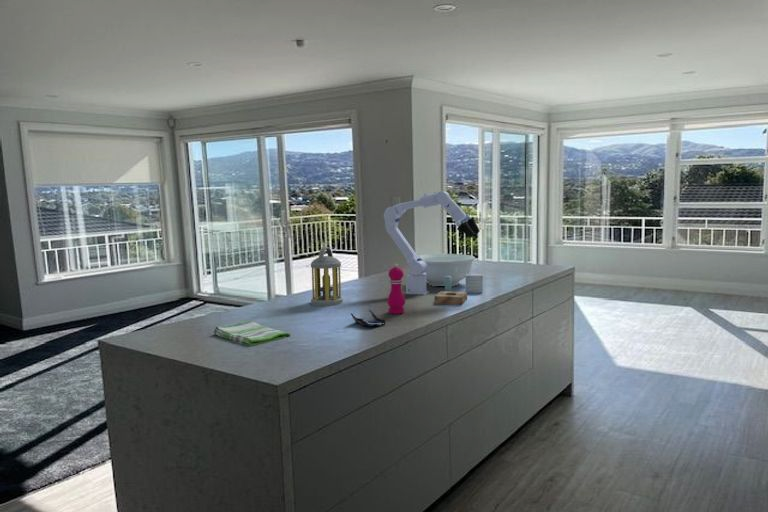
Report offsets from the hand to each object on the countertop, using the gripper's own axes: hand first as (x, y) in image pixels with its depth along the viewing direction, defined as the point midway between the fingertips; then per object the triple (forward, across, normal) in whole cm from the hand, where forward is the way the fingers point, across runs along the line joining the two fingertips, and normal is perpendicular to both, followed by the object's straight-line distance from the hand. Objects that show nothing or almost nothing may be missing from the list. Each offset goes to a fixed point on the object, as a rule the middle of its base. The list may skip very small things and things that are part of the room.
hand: (475, 234), depth 251 cm
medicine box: (+20, +5, +23) cm, 30 cm away
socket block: (+16, -20, +22) cm, 33 cm away
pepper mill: (+5, -48, +29) cm, 56 cm away
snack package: (+3, -70, +27) cm, 75 cm away
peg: (+13, -8, +27) cm, 31 cm away
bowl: (+6, +19, +40) cm, 45 cm away
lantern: (-19, -43, +57) cm, 74 cm away
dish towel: (-19, -100, +47) cm, 112 cm away
